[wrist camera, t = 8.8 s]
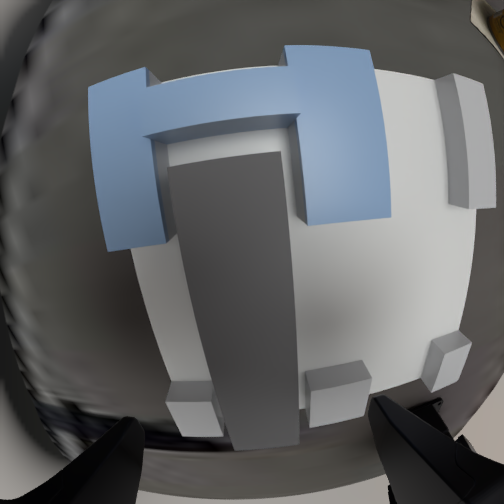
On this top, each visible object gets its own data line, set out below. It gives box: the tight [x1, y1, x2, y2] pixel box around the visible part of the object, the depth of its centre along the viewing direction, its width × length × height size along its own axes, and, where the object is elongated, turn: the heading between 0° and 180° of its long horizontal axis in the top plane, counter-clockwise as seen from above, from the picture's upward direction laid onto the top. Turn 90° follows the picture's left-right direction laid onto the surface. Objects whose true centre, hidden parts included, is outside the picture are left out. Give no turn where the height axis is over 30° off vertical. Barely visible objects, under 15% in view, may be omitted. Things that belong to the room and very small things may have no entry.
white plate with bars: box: [88, 45, 496, 437], centre depth 13 cm, size 22×22×4 cm
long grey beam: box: [167, 151, 299, 451], centre depth 13 cm, size 16×4×4 cm, turn 7°
